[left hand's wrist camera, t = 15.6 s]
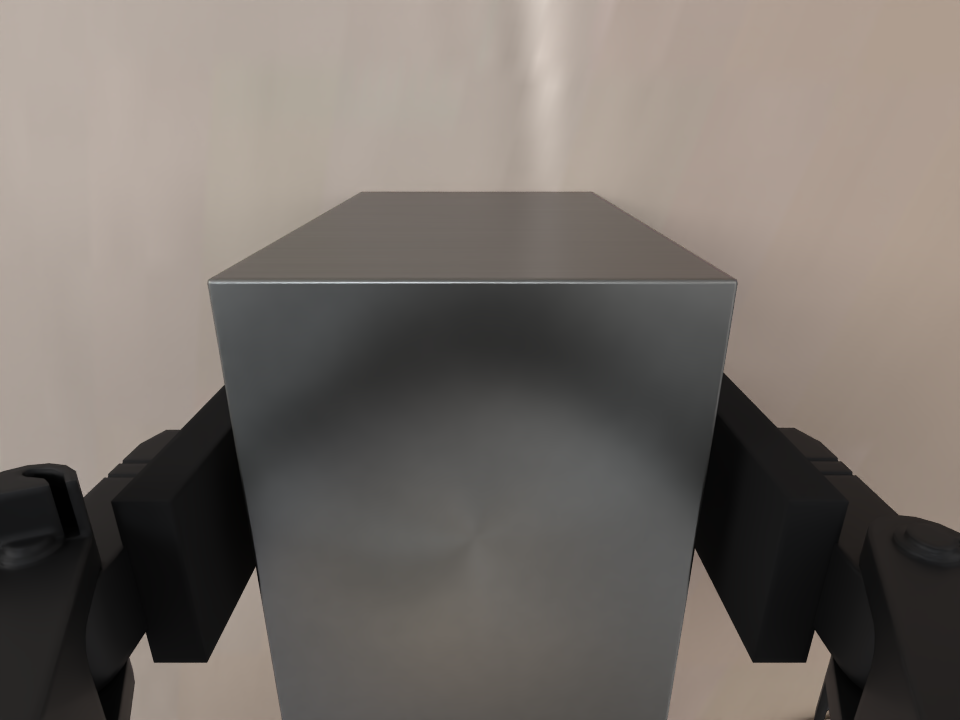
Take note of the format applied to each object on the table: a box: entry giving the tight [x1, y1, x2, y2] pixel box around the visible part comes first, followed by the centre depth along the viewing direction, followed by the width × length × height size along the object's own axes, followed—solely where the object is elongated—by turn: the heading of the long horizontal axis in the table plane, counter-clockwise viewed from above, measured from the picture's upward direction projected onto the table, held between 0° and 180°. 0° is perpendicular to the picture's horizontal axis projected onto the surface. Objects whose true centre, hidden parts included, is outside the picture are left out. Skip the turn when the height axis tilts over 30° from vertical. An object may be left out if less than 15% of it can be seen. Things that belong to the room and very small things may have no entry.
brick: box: [208, 192, 737, 720], centre depth 14 cm, size 8×7×10 cm
